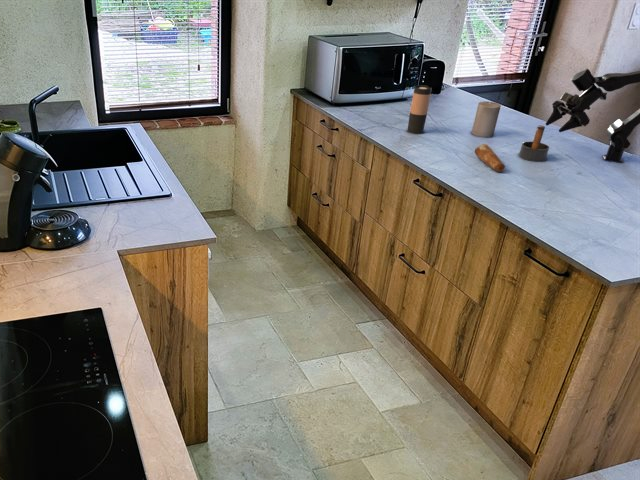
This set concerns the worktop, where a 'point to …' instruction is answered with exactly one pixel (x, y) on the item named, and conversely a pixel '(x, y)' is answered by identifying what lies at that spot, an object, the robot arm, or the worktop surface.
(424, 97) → the travel mug
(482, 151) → the bread
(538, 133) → the stick
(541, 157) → the bowl
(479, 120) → the pillar candle
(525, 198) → the worktop surface
